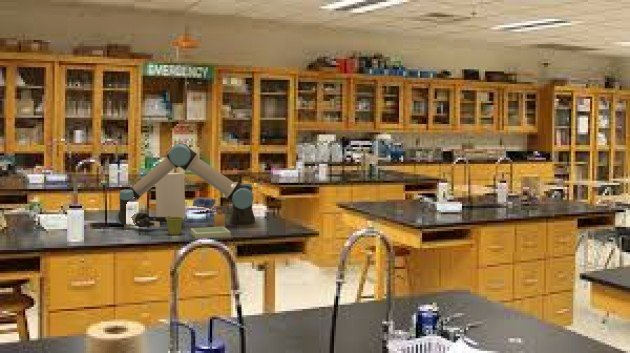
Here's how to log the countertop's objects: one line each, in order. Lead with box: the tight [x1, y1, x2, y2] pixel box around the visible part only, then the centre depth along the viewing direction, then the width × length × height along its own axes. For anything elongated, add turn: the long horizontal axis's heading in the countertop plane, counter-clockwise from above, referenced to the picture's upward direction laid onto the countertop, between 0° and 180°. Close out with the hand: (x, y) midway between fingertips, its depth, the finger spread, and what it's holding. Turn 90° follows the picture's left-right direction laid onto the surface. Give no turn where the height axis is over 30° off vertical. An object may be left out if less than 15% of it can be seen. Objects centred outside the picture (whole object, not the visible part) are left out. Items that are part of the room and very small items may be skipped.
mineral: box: [191, 196, 216, 210], centre depth 445 cm, size 14×10×10 cm, turn 119°
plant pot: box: [166, 217, 185, 236], centre depth 368 cm, size 9×9×9 cm
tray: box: [189, 226, 232, 241], centre depth 364 cm, size 18×18×3 cm
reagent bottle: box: [213, 205, 226, 228], centre depth 380 cm, size 6×6×13 cm
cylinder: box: [155, 172, 186, 219], centre depth 420 cm, size 17×17×28 cm
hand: (168, 222), depth 370 cm, fingers open, 13 cm apart
